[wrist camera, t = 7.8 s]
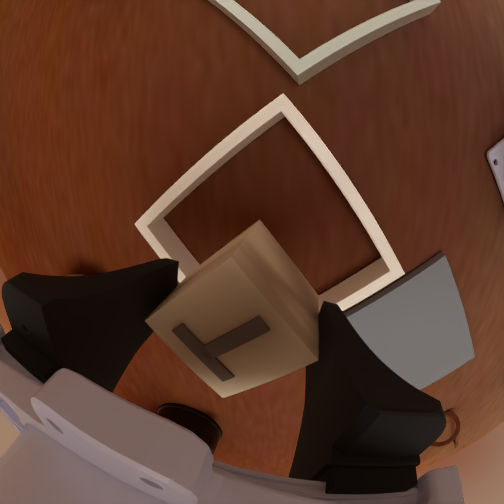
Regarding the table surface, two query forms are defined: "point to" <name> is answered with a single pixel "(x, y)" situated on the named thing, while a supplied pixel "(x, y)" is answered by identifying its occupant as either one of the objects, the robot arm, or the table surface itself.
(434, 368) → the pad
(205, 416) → the french press
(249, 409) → the table surface
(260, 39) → the bin
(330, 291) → the bin
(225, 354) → the letter cube
